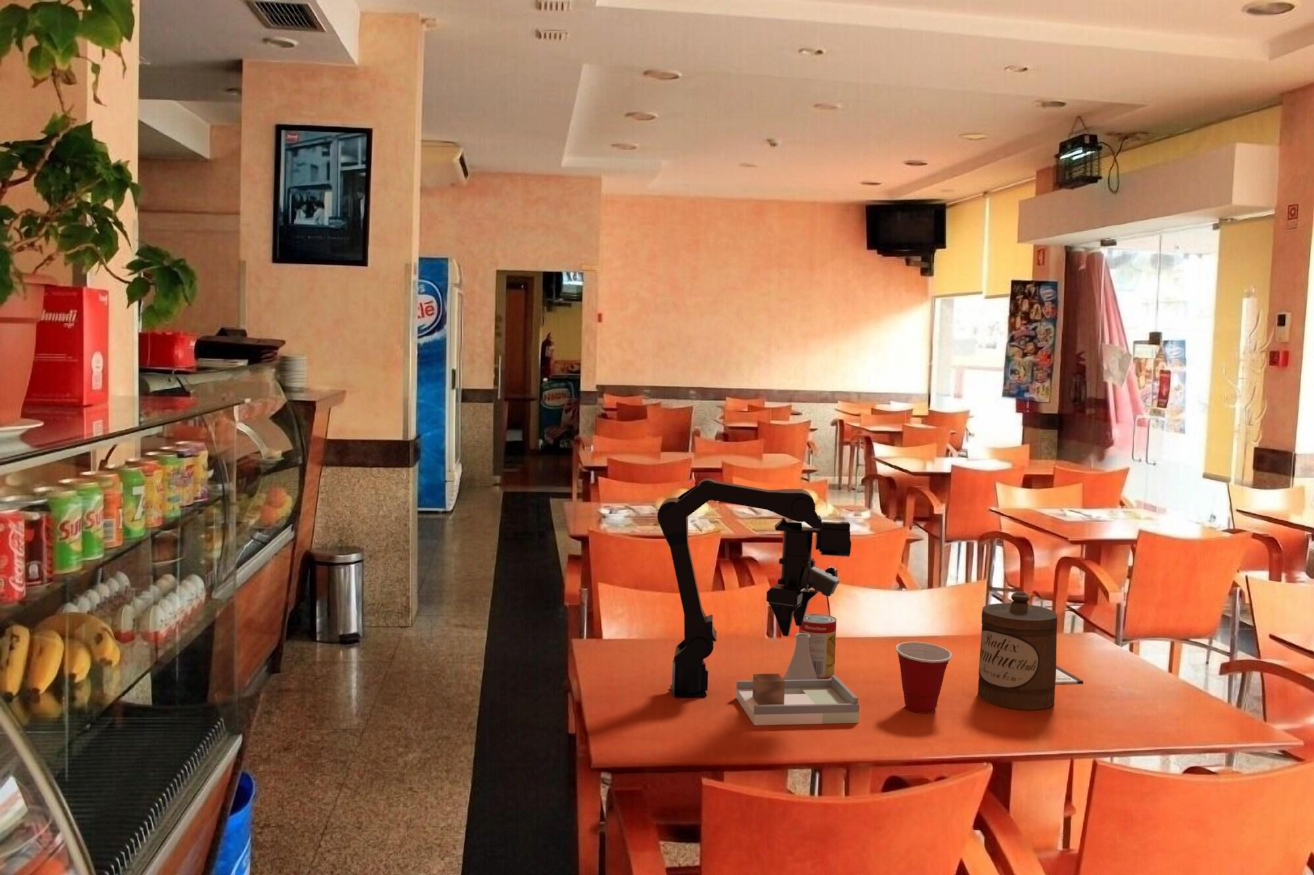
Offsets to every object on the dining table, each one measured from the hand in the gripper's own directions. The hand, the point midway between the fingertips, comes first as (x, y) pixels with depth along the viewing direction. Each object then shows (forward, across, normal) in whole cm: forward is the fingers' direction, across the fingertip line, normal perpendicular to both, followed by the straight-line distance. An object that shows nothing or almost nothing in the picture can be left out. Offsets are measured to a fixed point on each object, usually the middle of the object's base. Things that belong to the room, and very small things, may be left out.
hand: (792, 630), depth 224 cm
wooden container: (+13, +21, -42) cm, 48 cm away
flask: (+14, +12, +1) cm, 18 cm away
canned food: (+14, +19, 0) cm, 24 cm away
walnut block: (+12, -10, +1) cm, 15 cm away
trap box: (+14, -7, -4) cm, 16 cm away
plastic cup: (+13, +5, -25) cm, 29 cm away
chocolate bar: (+13, +44, -45) cm, 64 cm away
